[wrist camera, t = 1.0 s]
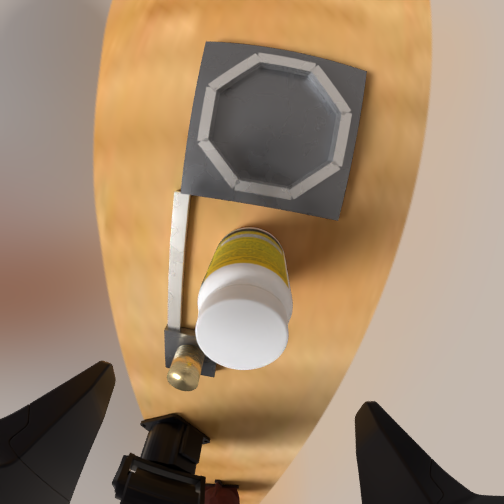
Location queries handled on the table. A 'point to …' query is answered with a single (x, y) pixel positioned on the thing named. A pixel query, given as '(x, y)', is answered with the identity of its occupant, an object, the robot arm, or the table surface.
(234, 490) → the mate gourd
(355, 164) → the table surface
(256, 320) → the supplement bottle
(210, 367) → the grey handled tray
